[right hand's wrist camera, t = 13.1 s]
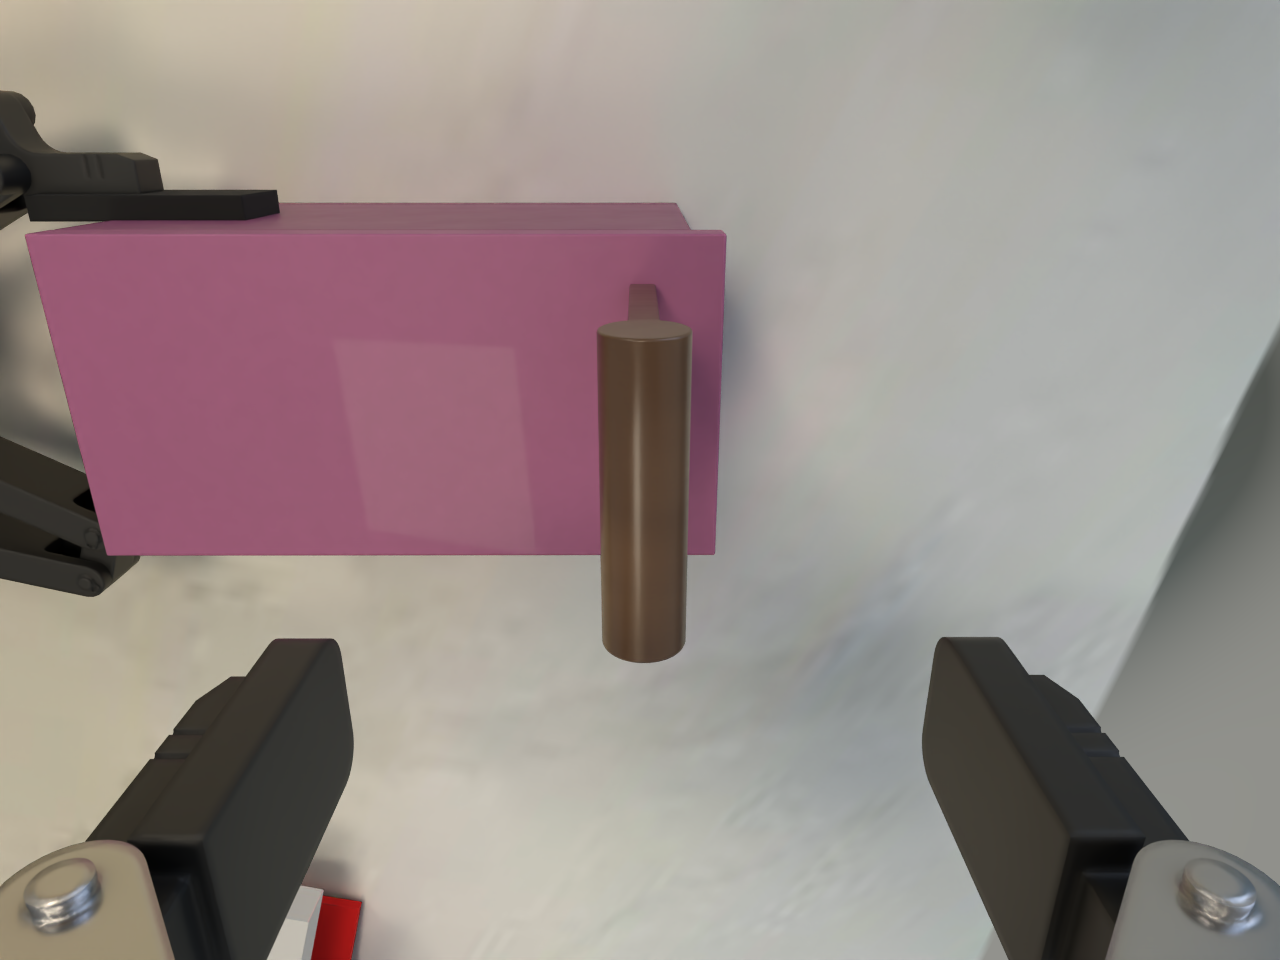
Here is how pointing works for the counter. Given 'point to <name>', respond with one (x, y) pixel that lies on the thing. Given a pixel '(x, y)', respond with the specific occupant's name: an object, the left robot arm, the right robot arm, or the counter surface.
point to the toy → (317, 928)
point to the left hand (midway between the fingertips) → (286, 361)
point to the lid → (402, 397)
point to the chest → (434, 217)
